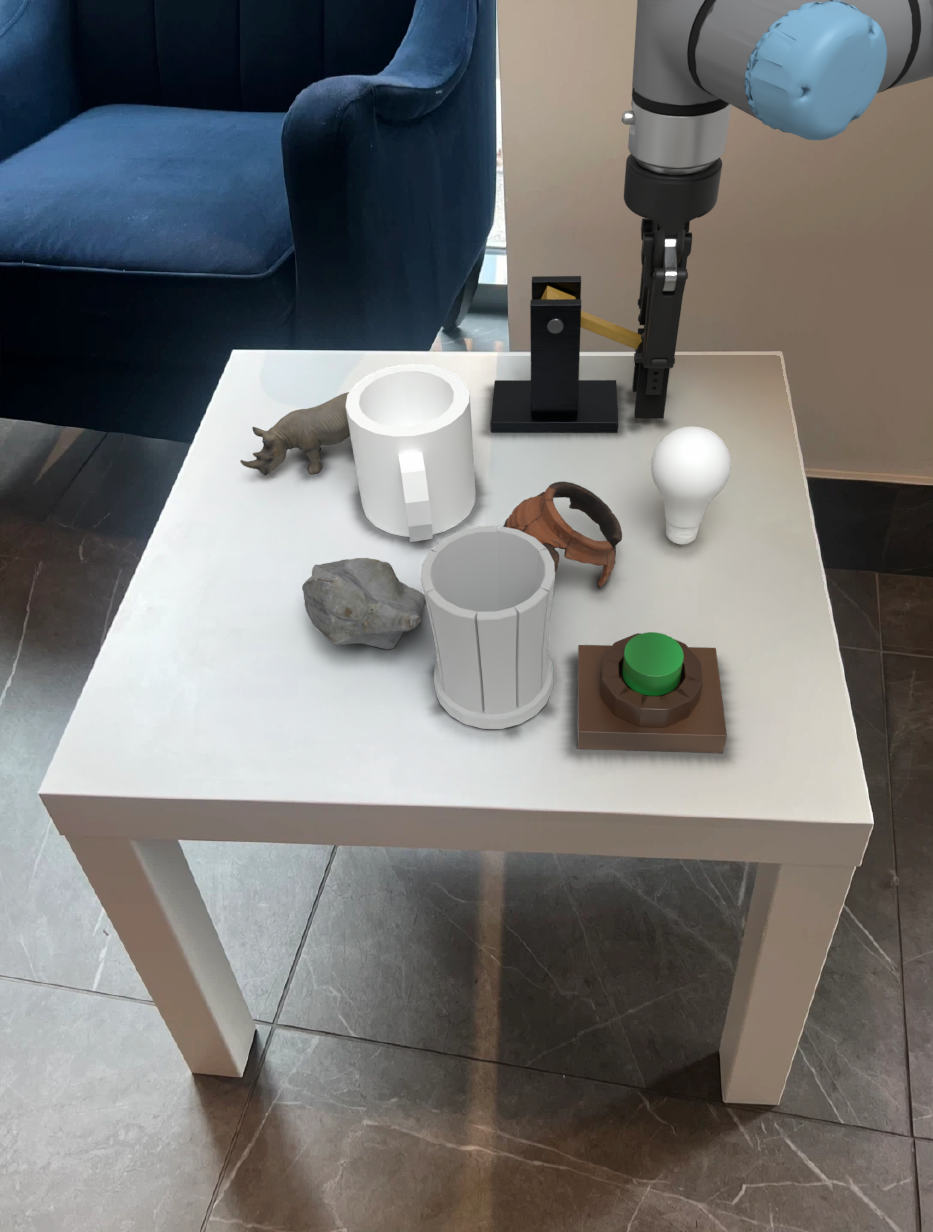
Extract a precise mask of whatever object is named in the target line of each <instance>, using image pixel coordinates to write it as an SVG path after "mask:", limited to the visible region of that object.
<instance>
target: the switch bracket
mask: <svg viewBox="0 0 933 1232" xmlns="http://www.w3.org/2000/svg"><path fill="white" fill-rule="evenodd" d="M547 286H550V287H552V288H554V289H557V290H559V291H562V292H564V293H567V294H569V295H572V296H574V297H576V299H542V300H541V298H542V296H543V294H544V292H545V290H546V288H547ZM581 294H582V276H581V275H548V276H547V275H542V276H533V275H532V276H531V299H530V304H529V310H530V311H529V315H530V316H529V319H530V321H529V322H530V323H529V324H530V325H529V326H530V327H529V329H530V330H529V331H530V332H529V333H530V336H529V337H530V339H529V340H530V380H529V379H523V380H522V379H511V380H509V379H501V380H500V379H498V380H497V379H495V380H494V384H493V392H492V402H491V403H492V404H491V413H490V433H531V434H532V433H534V434H535V433H537V434H539V433H543V434H545V433H549V434H550V433H552V434H553V433H555V434H556V433H557V434H558V433H566V434H568V433H570V434H571V433H573V434H575V433H576V434H577V433H578V434H580V433H583V434H585V433H586V434H587V433H589V434H590V433H591V434H592V433H593V434H597V433H599V434H604V433H605V434H611V433H613V434H615V433H616V434H617V433H619V408H618V407H619V406H618V405H619V404H618V385H617V383H618V382H617V380H616V379H580V354H581V328H582V327H581V311H582V299H581V297H582V295H581Z"/></svg>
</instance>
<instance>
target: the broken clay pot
mask: <svg viewBox="0 0 933 1232" xmlns="http://www.w3.org/2000/svg"><path fill="white" fill-rule="evenodd" d="M559 498H561V499H562V498H567V499H569V503H570V504H569V505H568V508H569V509H571V510H577V511H580V512H582V513H584V514H585V515H586V516H587V517H588V518H589V519H590V520H591V521H592V522H593V523H595V524H597V525H598V528H599V530H600V532H601V534H602V536H603V537H604V538H605V540H596V539H592V538H590V537H588V536H586V535H584V534H583V533H581V532H579V531H577V530H575V529H574V528H573V527H572V526H571V525H570V524H568V522H567V521H566V520H565V519H564V518H563V516H562V515H561V514H560V513H559V511H558V509H557V507H556V505H555V502H554V499H559ZM502 527H507V528H512V529H517V530H520V531H522V532H524V533H526V534H528V535H530V536H532V537H534V538H536V539H537V540H538V541H539V542H540V543H541V544H543V545H544V546H545V547H546V549H547V550H548V551H549V553H550V555H551V557H552V559H553V561H554V566H555V573H557V571H558V568H559V563H560V553H559V552H558V550H557V549H561V550H564V554H563V557H564V559H567V560H571V561H576V562H578V563H581V564H590V565H594V566H600V567H603V568H602V573H601V575H600V577H599V579H598V580H597V585H598V587H599V588H602V587H603V586H604V585H606V582H607V581H608V579H609V578H610V577H611V574H612V572H613V570H614V568H615V565H616V558H617V546H618V545H619V543H620V542H621V541H622V540H623V531H622V525H621V524H620V522H619V520H618V517H617V516H616V515H615V513H613V510H612V509H611V508H610V507H609V505H608V504H606V503H605V502H604V501H603V500H602V499H601V498H600V496H597V495H596V494H595V493H594V492H592V491H591V490H589V489H587V488H585V487H584V486H581V485H580V484H576V483H574V482H569V481H555V482H553V483H551V484H549V486H547V488H546V489H545V491H542V492H541V493H539V494H537V495H534V496H530V497H529V498H527V499H524V500H522V501H521V502H520V503H519V504H518V505H516V507H514V509H513V510H512V512H511V514H510V515H509V516H508V517H507V519H506V520H505V522H504V524H503V526H502Z"/></svg>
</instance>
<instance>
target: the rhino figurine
mask: <svg viewBox="0 0 933 1232" xmlns="http://www.w3.org/2000/svg"><path fill="white" fill-rule="evenodd" d="M349 392H350V391H347V392H343V393H341V394H339V395H337V396H335V397H333V398H331V399H329V400H328V401H325V402H324V403H321V404H319V405H316V406H313V407H308V408H299V409H295V410H292V411H290V412H288V413H287V414H285V415H284V416H283V417H281V418H280V419H279V420H278V421H276V423H275V424H274V425H273V426H271V427H270V428H269V429H268V430H264V429H262V428H259V427H256V426H252V427H251V429H252V432H253V434H254V435H255V436H257V437H259V438H262V440H261V442H262V444H263V446H262V448H261V450H260V451H256V452H252V455H253V457H255V458H256V459H254V460H249V461H247V460H243V459H240V460H239V461H240V464H241V465H242V466H244V467H245V468H249V469H253V470H257V471H259V473H260V474H261V475H262V476H265V477H266V476H269V474H270V473H272V472H273V471H274V470H276V469H277V468H278V467H279V466H280V465H281V464H282V463H283V462H284V461H285V459H286V458H287V453H288V450H293V449H299V450H300V451H303V453H304V455H305V456H306V457H307V458H308V461H309V462H308V464H307V466H306V469H307V472H308V474H310V475H314V474H318V473H319V472H320V471H321V470H322V469H323V464H322V462H321V460H320V459H321V453H322V447H321V446H325V447H327V446H334V445H339V444H341V443H343V442H344V441H346V440H347V439H348V438H349V437H351V436H350V430H349V424H348V418H347V412H346V400H347V395H348V393H349Z"/></svg>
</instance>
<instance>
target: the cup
mask: <svg viewBox="0 0 933 1232" xmlns="http://www.w3.org/2000/svg"><path fill="white" fill-rule="evenodd" d="M555 580H556V572H555V566H554V561H553V559H552V557H551V555H550V553H549V551H548V550H547V549H546V547H545V546H544V545H543V544H541V543H540V542H539V541H538V540H537V539H536V538H534V537H532V536H530V535H528V534H526V533H524V532H522V531H520V530H517V529H512V528H507V527H503V526H502V525H500V526H498V525H478V526H474V527H470V528H466V529H462V530H458V531H456V532H454V533H452V534H450V535H448V536H446V537H443V538H442V539H441V540H440V541H439V542H438V543H436V545H434V546H433V547H432V548H431V549H430V551H428V552H427V554H426V557H425V559H424V560H423V562H422V564H421V572H420V581H421V586H422V591H423V594H424V595H425V599H426V607H427V611H428V616H429V621H430V626H431V630H432V631H431V632H432V635H433V641H434V647H435V654H436V661H435V664H434V672H433V685H434V691H435V694H436V696H437V701H438V702H439V705H440V706H442V708H443V709H444V710H445V711H446V712H447V714H448V715H449V716H451V717H452V718H454V719H455V720H457V721H459V722H461V723H462V724H464V725H467V726H470V727H474V728H478V729H481V730H504V729H507V728H510V727H514V726H518V725H522V724H523V723H525V722H527V721H528V720H530V719H532V718H533V717H535V716H536V715H538V714H539V712H540V711H541V710H542V709H543V708H544V707H545V706H546V704H548V701H549V699H550V697H551V694H552V691H553V689H554V673H553V663H552V660H551V658H550V656H549V654H548V649H549V630H550V621H551V612H552V610H551V608H552V603H553V602H552V601H553V595H554V587H555Z"/></svg>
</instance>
